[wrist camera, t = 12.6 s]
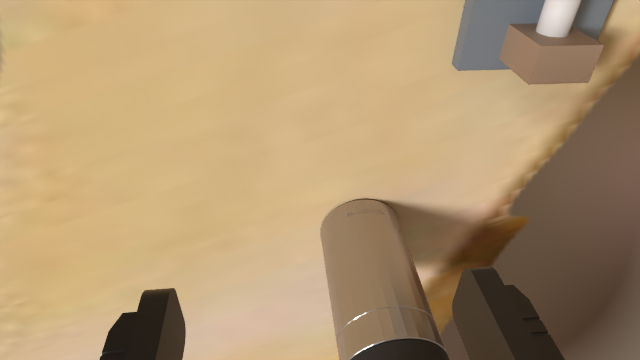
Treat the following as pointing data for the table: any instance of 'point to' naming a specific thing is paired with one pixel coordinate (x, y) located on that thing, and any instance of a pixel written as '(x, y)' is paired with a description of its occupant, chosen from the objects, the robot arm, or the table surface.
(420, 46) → the table surface
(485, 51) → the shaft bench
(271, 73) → the table surface
